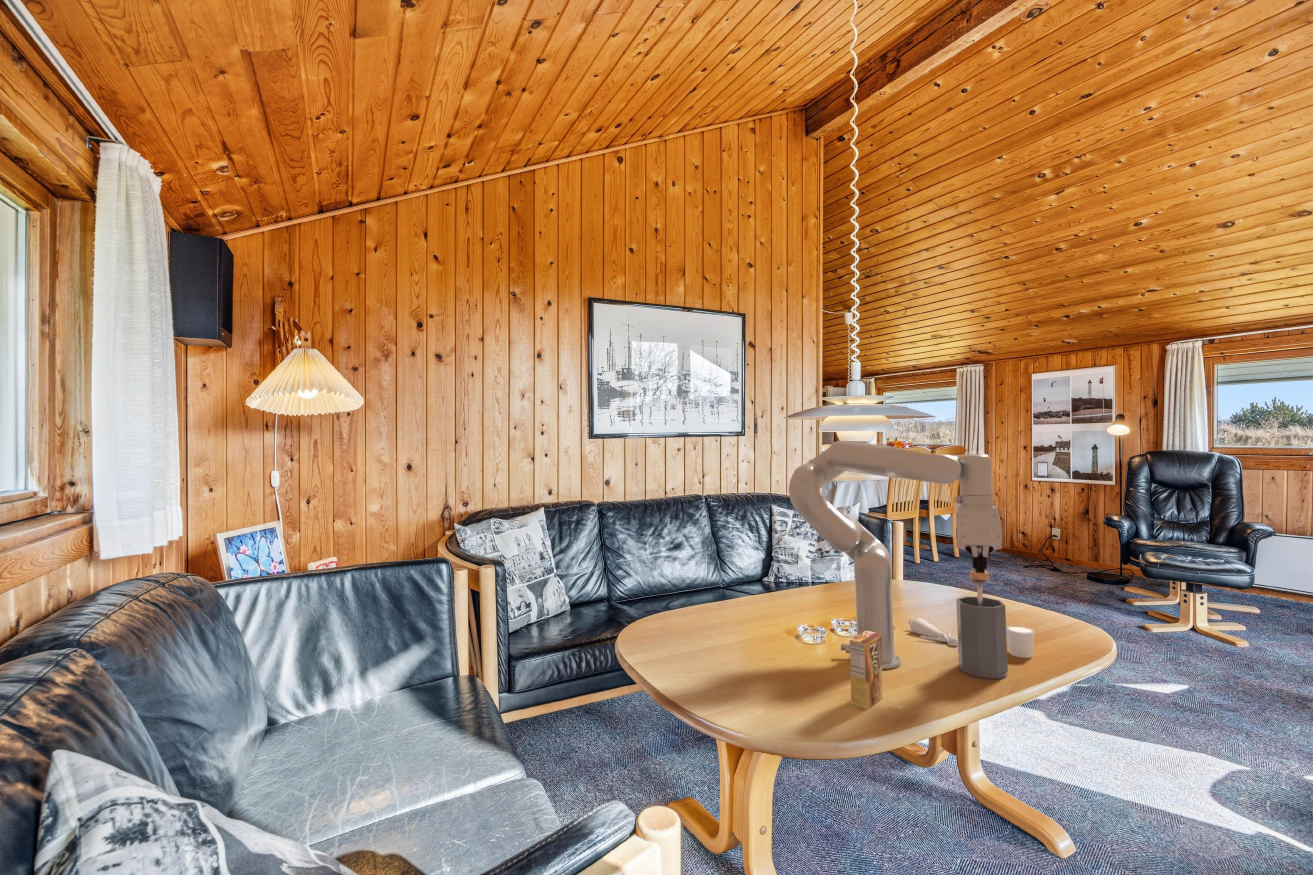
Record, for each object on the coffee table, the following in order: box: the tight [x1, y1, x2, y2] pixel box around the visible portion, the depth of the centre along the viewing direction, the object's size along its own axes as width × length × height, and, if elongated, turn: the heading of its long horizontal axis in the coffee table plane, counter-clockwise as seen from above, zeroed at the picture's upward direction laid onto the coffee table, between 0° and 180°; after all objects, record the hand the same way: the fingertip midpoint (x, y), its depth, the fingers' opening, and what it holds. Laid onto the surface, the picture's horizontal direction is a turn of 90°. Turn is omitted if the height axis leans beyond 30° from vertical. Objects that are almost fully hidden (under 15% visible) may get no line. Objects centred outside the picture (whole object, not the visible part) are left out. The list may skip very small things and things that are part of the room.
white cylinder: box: [1006, 625, 1035, 659], centre depth 164 cm, size 7×7×7 cm
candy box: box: [849, 631, 884, 711], centre depth 137 cm, size 9×4×15 cm, turn 137°
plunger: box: [969, 569, 990, 607], centre depth 153 cm, size 8×8×17 cm
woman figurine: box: [908, 617, 958, 647], centre depth 180 cm, size 12×4×18 cm
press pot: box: [956, 595, 1009, 680], centre depth 155 cm, size 11×14×18 cm
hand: (979, 571), depth 153 cm, fingers closed
